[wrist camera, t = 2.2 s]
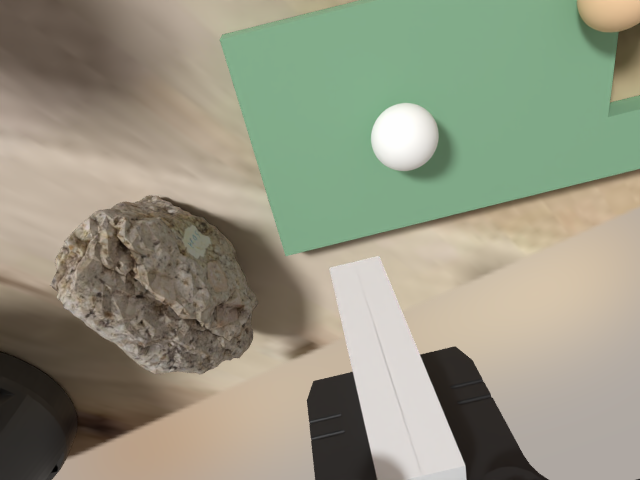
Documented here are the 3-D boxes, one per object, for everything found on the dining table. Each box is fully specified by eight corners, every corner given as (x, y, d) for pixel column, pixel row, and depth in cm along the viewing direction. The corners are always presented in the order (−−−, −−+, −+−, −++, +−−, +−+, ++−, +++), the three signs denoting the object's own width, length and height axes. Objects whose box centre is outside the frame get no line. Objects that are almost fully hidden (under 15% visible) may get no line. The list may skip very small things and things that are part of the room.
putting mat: (284, 240, 31) (287, 273, 27) (222, 34, 24) (216, 45, 20) (690, 139, 30) (745, 161, 27) (743, -96, 24) (826, -107, 20)
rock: (329, 326, 27) (238, 431, 27) (259, 252, 35) (189, 332, 35) (136, 186, 18) (-3, 341, 18) (101, 129, 26) (5, 235, 26)
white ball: (370, 163, 26) (384, 188, 23) (360, 104, 25) (374, 123, 22) (428, 149, 26) (450, 172, 23) (423, 89, 25) (446, 105, 22)
